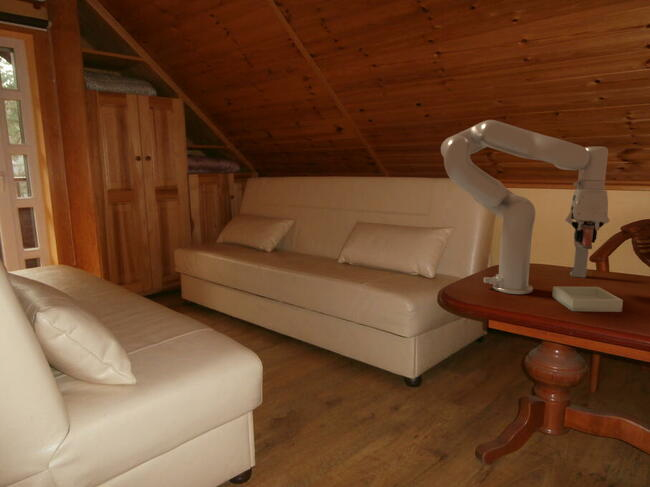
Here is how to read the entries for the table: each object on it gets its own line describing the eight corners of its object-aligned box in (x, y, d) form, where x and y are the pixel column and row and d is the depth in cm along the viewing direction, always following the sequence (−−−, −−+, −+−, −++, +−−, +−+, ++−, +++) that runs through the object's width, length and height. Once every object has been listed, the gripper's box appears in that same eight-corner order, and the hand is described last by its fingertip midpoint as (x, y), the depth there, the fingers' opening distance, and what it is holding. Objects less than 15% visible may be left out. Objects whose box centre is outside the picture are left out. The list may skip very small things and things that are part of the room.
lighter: (594, 249, 148) (597, 218, 146) (582, 248, 149) (586, 218, 147) (585, 244, 156) (588, 215, 154) (574, 244, 157) (577, 214, 155)
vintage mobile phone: (570, 274, 177) (576, 209, 172) (585, 275, 175) (591, 209, 170) (570, 276, 174) (576, 210, 169) (585, 278, 172) (592, 210, 167)
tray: (571, 311, 136) (573, 299, 135) (552, 296, 149) (553, 286, 149) (621, 311, 135) (623, 300, 134) (597, 297, 148) (598, 286, 148)
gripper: (569, 186, 146) (563, 243, 149) (624, 186, 144) (617, 244, 148) (559, 185, 153) (554, 239, 156) (611, 185, 152) (605, 240, 155)
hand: (584, 241), depth 152 cm, fingers closed on lighter, 3 cm apart
